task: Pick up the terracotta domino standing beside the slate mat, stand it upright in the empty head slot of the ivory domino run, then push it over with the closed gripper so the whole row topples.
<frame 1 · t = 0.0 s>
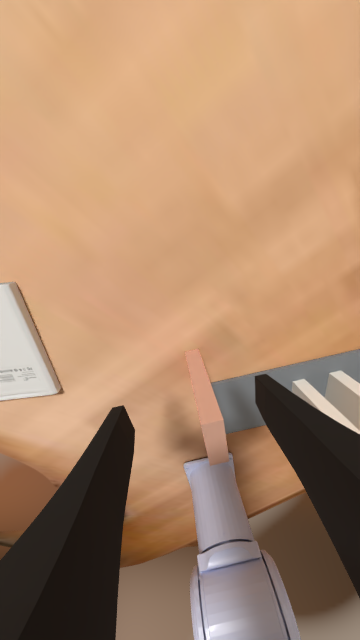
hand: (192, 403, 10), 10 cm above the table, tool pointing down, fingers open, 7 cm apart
domino 2: (297, 393, 24), resting on mat
domino 3: (332, 385, 24), resting on mat
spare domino: (195, 367, 21), on the table
external hard drive: (5, 342, 19), on the table
mat: (322, 385, 25), on the table
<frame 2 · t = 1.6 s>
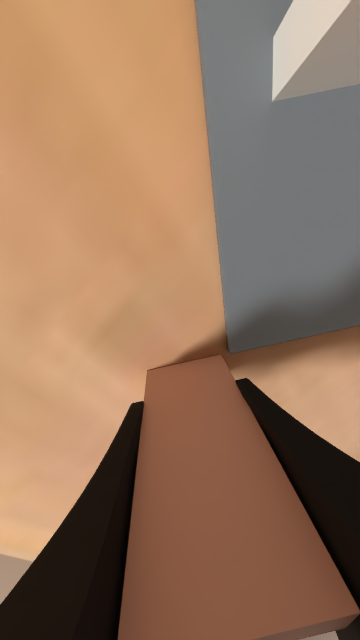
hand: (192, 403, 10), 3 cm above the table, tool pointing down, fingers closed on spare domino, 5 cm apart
domino 2: (338, 57, 6), resting on mat
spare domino: (186, 371, 12), on the table, touching gripper
when the fingers open (4 cm above the table, at t = 5.8 s): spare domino stays where it is, resting on mat.
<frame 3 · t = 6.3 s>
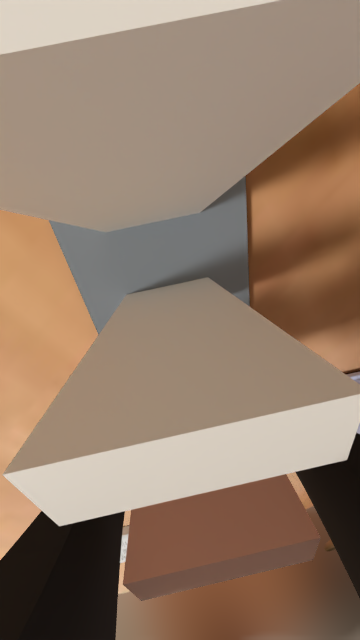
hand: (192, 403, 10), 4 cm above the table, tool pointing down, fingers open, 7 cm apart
domino 2: (170, 298, 11), resting on mat
domino 3: (149, 204, 9), resting on mat
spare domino: (184, 362, 13), resting on mat
mat: (154, 227, 10), on the table
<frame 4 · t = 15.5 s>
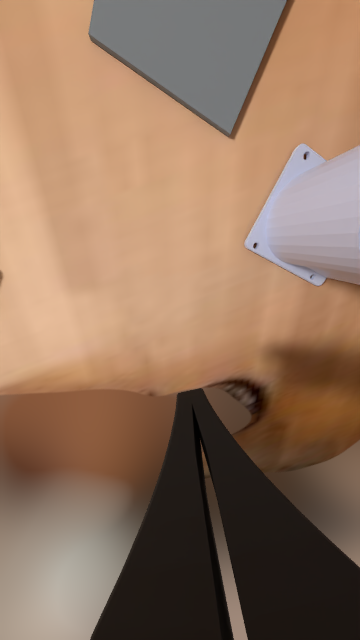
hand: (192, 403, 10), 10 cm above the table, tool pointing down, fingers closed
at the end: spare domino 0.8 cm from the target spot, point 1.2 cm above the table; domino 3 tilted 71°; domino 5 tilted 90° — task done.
